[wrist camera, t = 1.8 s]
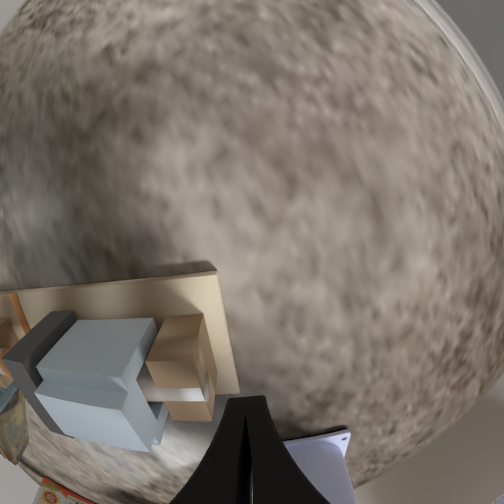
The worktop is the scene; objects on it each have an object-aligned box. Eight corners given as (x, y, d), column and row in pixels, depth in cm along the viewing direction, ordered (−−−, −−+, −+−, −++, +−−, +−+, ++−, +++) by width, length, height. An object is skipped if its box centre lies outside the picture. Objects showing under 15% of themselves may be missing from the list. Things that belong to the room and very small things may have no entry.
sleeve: (153, 317, 13) (111, 395, 7) (176, 383, 14) (156, 460, 9) (78, 319, 13) (25, 379, 7) (105, 380, 14) (72, 443, 9)
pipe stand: (217, 270, 13) (206, 316, 9) (239, 386, 16) (239, 443, 11) (-12, 292, 13) (-46, 315, 9) (24, 371, 16) (0, 401, 11)
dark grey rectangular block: (72, 310, 13) (21, 363, 8) (104, 380, 15) (73, 438, 9) (51, 311, 13) (1, 358, 8) (82, 378, 15) (50, 430, 9)
